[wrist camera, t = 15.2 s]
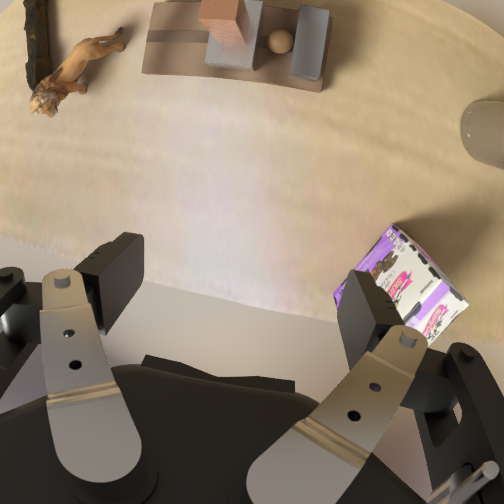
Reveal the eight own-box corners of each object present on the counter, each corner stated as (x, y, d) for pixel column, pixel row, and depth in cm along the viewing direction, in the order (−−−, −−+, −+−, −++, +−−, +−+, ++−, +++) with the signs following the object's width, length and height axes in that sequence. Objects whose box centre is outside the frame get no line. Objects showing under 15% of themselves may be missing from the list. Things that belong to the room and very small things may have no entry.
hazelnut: (294, 35, 31) (295, 29, 28) (290, 57, 32) (291, 52, 30) (268, 31, 31) (268, 24, 28) (265, 53, 32) (264, 48, 30)
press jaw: (264, 12, 30) (258, -33, 18) (254, 71, 33) (242, 49, 21) (222, 8, 30) (197, -35, 18) (211, 67, 33) (180, 45, 21)
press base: (329, 21, 32) (339, 4, 25) (318, 92, 36) (327, 87, 29) (159, 7, 32) (139, -10, 25) (147, 74, 36) (124, 68, 29)
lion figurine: (76, 120, 39) (37, 126, 30) (55, 102, 37) (16, 104, 29) (135, 36, 34) (104, 21, 25) (111, 19, 32) (77, 4, 24)
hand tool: (34, 3, 30) (16, -2, 26) (52, -8, 30) (35, -14, 25) (39, 102, 38) (20, 103, 33) (57, 93, 37) (39, 93, 33)
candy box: (391, 221, 41) (443, 277, 26) (418, 243, 42) (472, 304, 27) (331, 293, 47) (350, 372, 32) (359, 312, 48) (385, 389, 33)
